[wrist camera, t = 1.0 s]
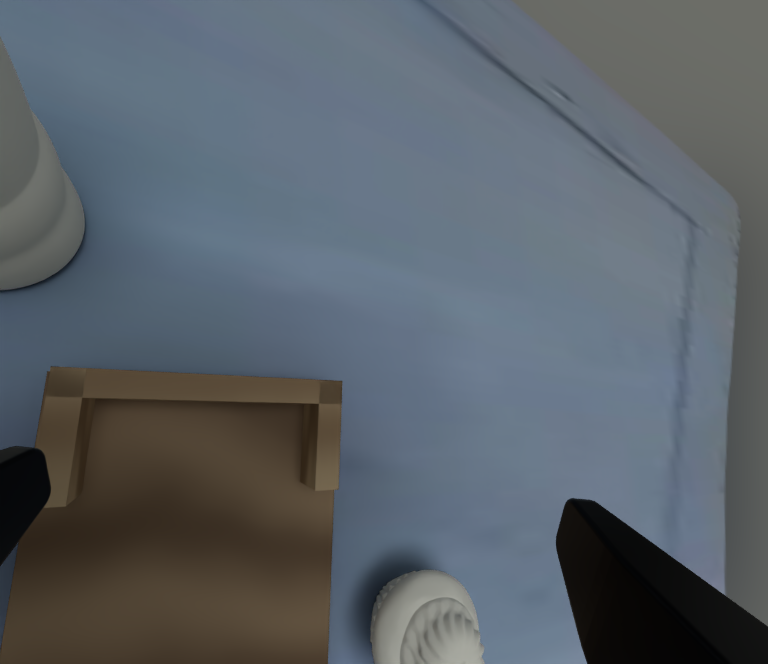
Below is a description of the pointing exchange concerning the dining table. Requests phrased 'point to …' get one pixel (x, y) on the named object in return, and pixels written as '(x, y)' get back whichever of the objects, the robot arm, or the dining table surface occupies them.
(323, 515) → the channel bracket
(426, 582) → the muffin
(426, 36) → the dining table surface
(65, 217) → the white milk bottle
